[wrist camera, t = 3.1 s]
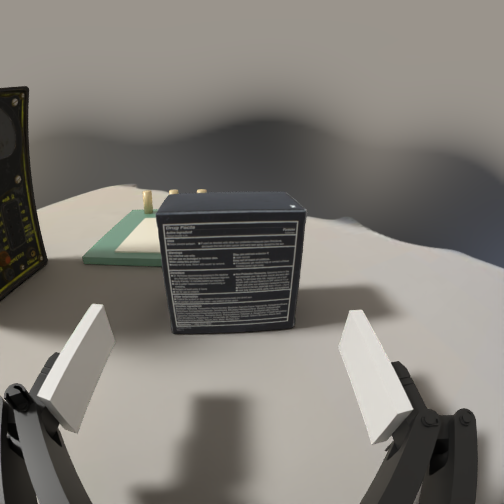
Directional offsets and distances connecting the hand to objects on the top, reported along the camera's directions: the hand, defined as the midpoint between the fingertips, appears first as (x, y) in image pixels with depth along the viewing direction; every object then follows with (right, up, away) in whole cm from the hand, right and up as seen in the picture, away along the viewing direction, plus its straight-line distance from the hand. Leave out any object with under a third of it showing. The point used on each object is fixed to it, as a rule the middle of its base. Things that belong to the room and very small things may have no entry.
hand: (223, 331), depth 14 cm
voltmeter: (-31, -1, +11) cm, 33 cm away
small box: (0, -2, +11) cm, 12 cm away
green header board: (-12, +7, +27) cm, 30 cm away
